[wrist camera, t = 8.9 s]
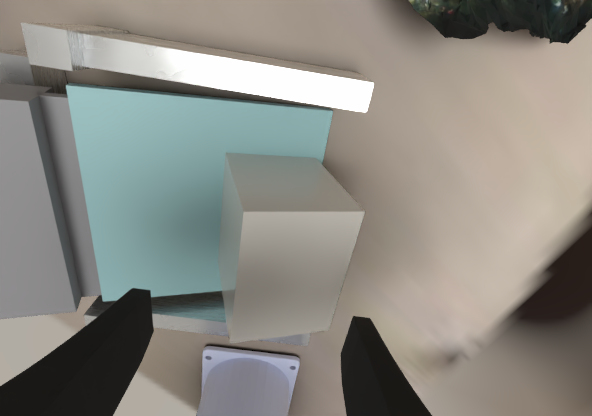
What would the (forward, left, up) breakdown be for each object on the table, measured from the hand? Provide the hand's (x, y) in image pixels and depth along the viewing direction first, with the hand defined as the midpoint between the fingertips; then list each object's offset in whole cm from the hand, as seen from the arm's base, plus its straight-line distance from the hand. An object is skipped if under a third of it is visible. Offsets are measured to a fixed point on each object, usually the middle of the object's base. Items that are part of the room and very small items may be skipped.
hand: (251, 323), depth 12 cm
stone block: (0, 0, -8) cm, 8 cm away
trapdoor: (0, +7, -8) cm, 10 cm away
